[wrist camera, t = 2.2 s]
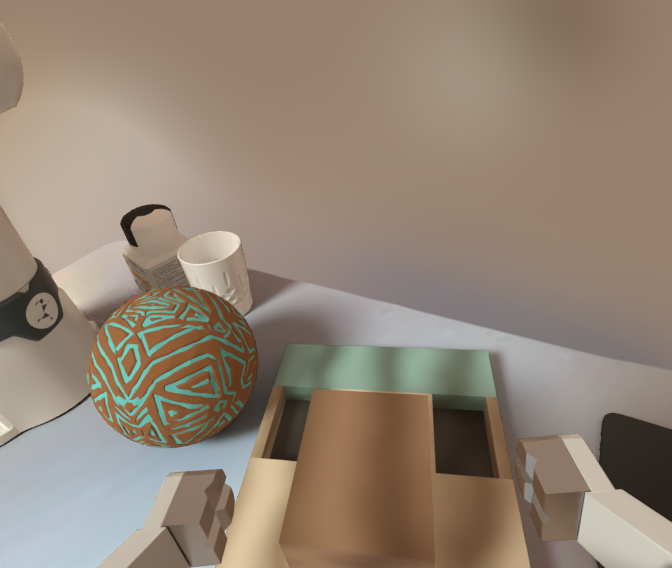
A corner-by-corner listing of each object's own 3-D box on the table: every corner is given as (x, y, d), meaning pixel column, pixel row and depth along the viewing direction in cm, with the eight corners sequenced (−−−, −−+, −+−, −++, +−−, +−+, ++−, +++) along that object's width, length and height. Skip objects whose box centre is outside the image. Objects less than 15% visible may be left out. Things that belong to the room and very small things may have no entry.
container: (140, 292, 63) (103, 215, 55) (184, 268, 67) (156, 193, 60) (165, 312, 59) (128, 232, 51) (211, 285, 63) (184, 207, 55)
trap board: (216, 603, 31) (207, 591, 29) (290, 358, 49) (287, 343, 48) (536, 650, 27) (544, 639, 25) (484, 366, 46) (487, 350, 44)
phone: (595, 572, 30) (603, 408, 40) (592, 577, 30) (600, 414, 40) (729, 632, 26) (700, 437, 37) (723, 636, 27) (696, 443, 37)
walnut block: (304, 605, 28) (278, 542, 22) (328, 463, 36) (313, 389, 30) (427, 622, 27) (435, 560, 21) (423, 472, 34) (428, 395, 28)
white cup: (257, 286, 62) (241, 226, 56) (256, 321, 55) (239, 258, 49) (203, 294, 61) (182, 236, 55) (197, 331, 55) (172, 269, 49)
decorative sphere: (285, 361, 49) (259, 255, 40) (246, 487, 37) (196, 377, 28) (168, 356, 52) (119, 255, 43) (97, 473, 40) (8, 367, 31)
